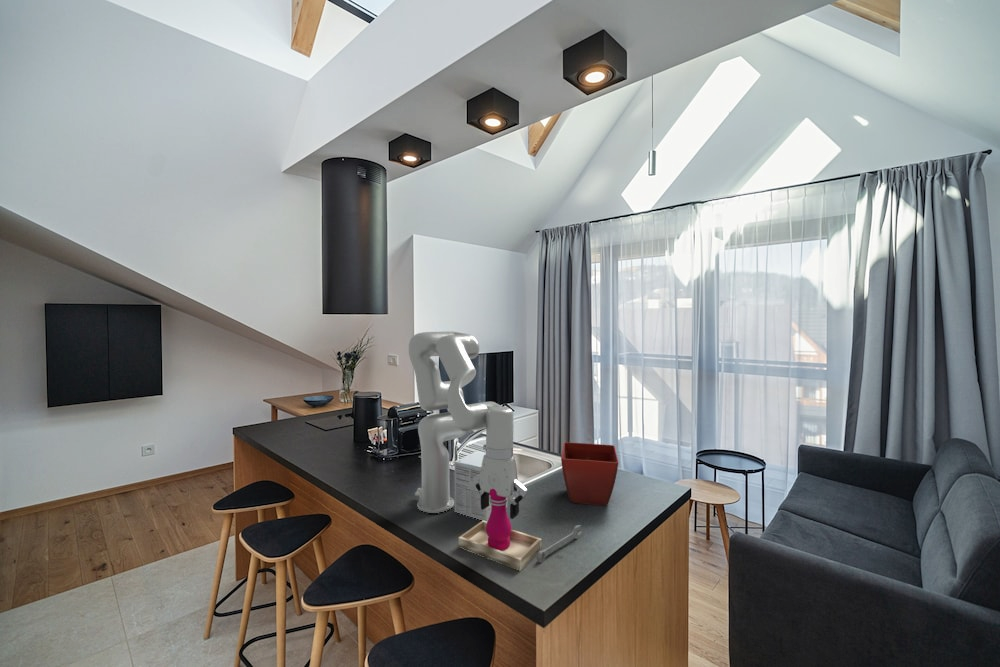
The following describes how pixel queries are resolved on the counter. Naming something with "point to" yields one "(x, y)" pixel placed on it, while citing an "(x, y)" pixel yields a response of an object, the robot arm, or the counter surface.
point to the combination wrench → (559, 543)
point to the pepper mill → (498, 523)
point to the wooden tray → (514, 555)
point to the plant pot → (589, 472)
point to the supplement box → (469, 487)
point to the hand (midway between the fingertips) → (499, 512)
